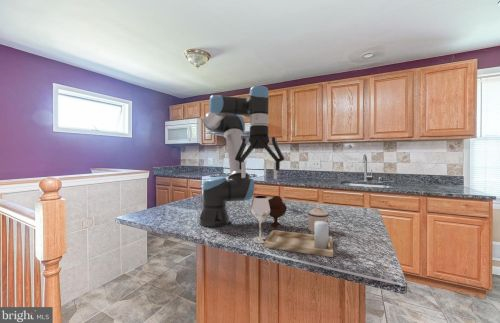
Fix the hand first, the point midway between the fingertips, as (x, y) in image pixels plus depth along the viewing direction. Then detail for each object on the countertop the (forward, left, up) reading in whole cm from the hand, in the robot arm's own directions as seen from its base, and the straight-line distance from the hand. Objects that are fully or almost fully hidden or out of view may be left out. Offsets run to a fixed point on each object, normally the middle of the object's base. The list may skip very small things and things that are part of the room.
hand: (259, 178), depth 90 cm
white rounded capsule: (+24, -1, -24) cm, 35 cm away
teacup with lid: (+22, +21, -26) cm, 40 cm away
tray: (+16, -1, -26) cm, 31 cm away
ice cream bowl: (+2, +22, -26) cm, 34 cm away
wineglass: (0, +1, -26) cm, 26 cm away
